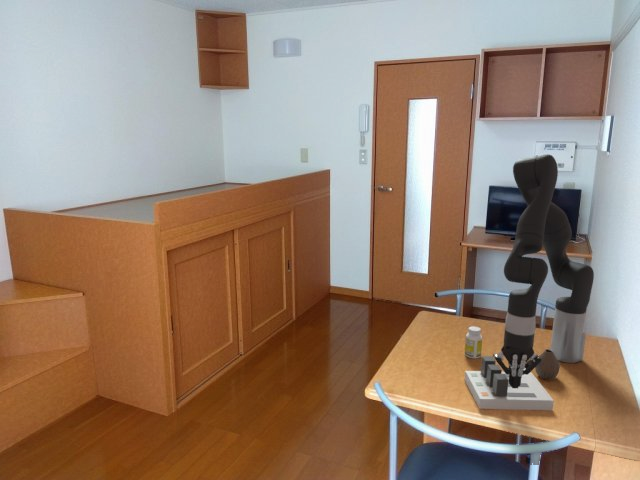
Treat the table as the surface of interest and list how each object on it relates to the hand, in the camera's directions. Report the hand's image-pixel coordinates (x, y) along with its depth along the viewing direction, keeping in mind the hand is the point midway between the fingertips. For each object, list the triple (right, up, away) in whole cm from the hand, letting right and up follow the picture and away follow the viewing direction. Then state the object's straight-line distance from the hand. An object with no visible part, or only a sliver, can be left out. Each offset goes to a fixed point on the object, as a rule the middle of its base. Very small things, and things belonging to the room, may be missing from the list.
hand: (513, 386), depth 135 cm
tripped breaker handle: (-4, -2, +1) cm, 4 cm away
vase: (+17, -2, +17) cm, 24 cm away
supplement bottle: (-2, +1, +31) cm, 31 cm away
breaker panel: (0, -4, +7) cm, 8 cm away
